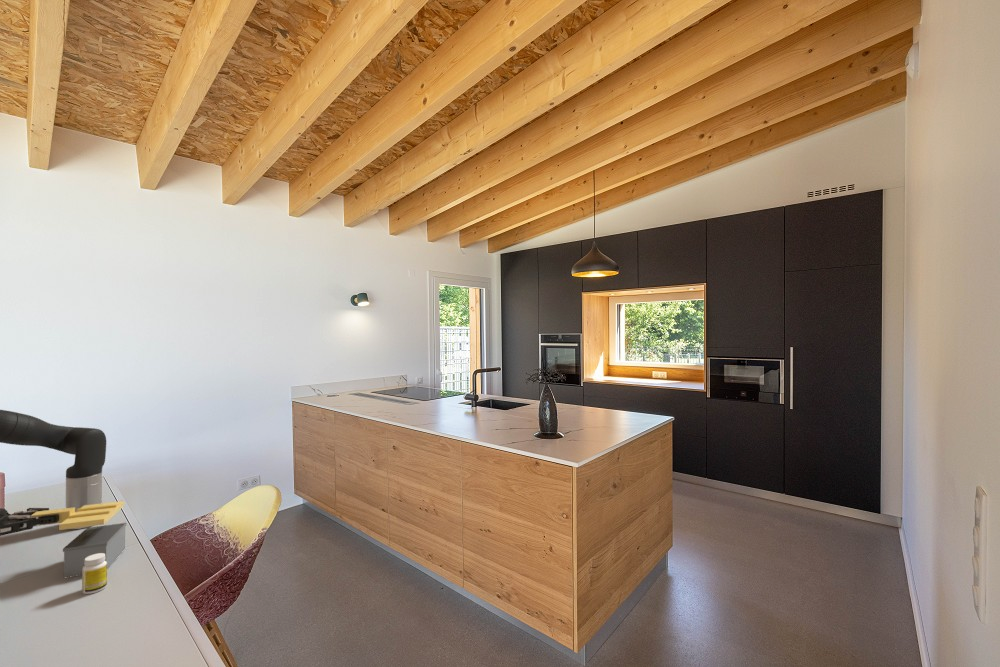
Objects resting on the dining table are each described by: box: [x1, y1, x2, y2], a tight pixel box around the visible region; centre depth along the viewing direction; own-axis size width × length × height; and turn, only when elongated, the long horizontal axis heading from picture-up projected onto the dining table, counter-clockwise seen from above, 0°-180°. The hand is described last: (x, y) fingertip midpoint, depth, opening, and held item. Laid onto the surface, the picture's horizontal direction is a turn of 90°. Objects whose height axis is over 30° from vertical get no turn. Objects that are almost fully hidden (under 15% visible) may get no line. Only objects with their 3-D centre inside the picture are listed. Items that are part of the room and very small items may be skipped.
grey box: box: [62, 522, 127, 578], centre depth 129 cm, size 14×9×8 cm, turn 23°
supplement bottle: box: [81, 553, 108, 595], centre depth 116 cm, size 5×5×8 cm
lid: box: [31, 500, 125, 531], centre depth 127 cm, size 14×18×3 cm
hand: (61, 515), depth 126 cm, fingers closed on lid, 3 cm apart
